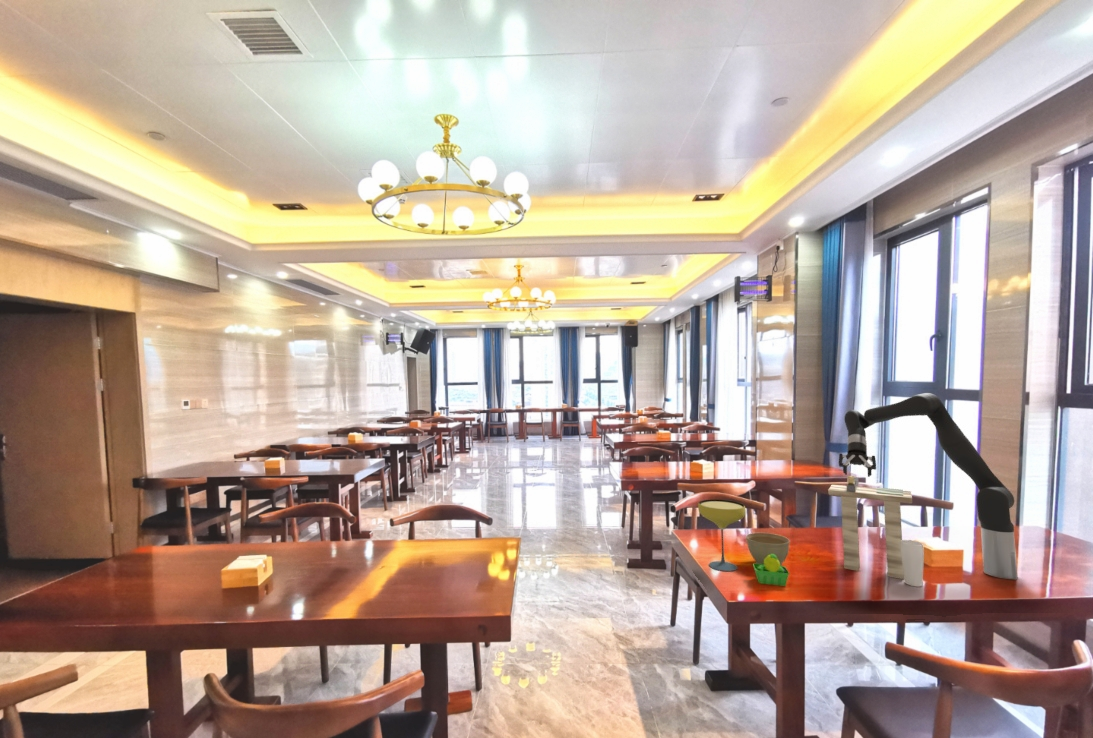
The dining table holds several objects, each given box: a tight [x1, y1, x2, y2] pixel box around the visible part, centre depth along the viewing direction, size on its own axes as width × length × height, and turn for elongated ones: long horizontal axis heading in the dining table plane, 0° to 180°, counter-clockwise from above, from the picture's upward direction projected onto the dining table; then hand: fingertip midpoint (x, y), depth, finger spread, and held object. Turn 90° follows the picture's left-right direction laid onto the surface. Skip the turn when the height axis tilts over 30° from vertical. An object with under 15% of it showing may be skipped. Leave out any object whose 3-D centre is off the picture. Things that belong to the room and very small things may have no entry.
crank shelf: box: [827, 484, 913, 580], centre depth 179 cm, size 14×26×32 cm, turn 53°
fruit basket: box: [752, 554, 790, 587], centre depth 172 cm, size 11×9×11 cm
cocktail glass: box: [697, 499, 746, 572], centre depth 189 cm, size 18×18×25 cm
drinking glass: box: [900, 539, 925, 588], centre depth 169 cm, size 7×7×15 cm
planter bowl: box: [745, 532, 790, 566], centre depth 190 cm, size 16×16×11 cm
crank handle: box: [846, 475, 860, 492], centre depth 188 cm, size 22×3×6 cm, turn 143°
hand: (857, 474), depth 208 cm, fingers open, 8 cm apart
